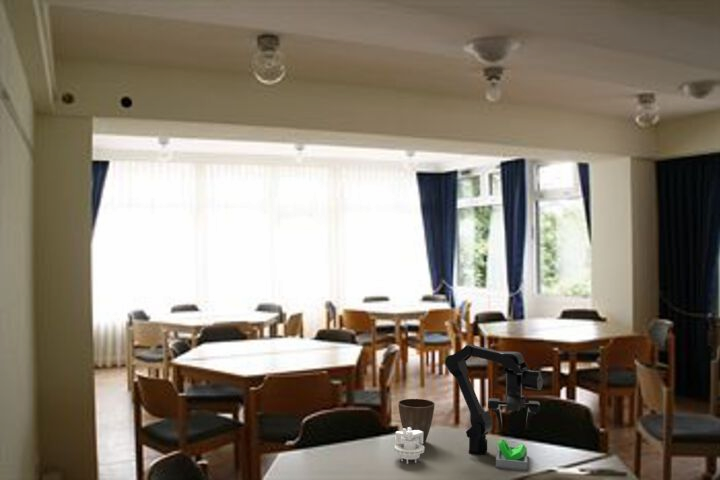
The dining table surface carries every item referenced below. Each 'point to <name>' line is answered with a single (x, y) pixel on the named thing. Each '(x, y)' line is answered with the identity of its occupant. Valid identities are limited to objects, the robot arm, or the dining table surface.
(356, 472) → the dining table surface
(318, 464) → the dining table surface
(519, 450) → the mechanical part
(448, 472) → the dining table surface
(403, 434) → the mechanical part
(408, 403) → the plant pot
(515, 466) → the parts tray
